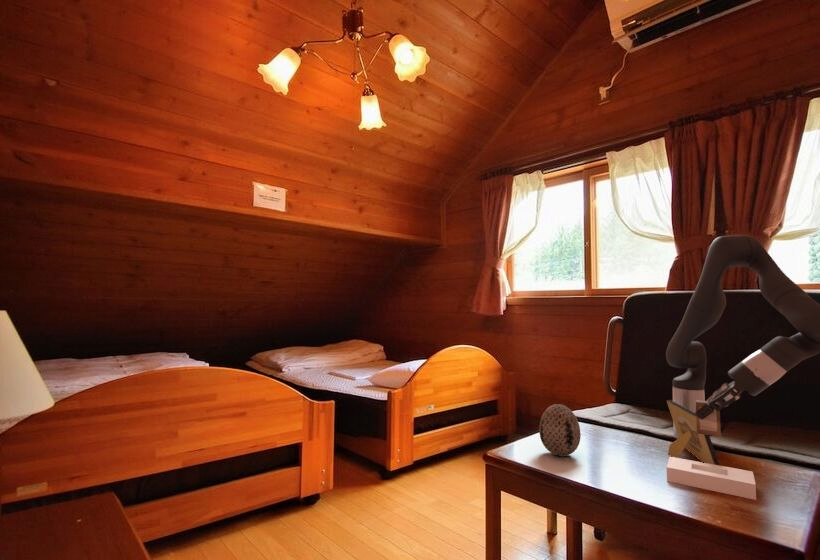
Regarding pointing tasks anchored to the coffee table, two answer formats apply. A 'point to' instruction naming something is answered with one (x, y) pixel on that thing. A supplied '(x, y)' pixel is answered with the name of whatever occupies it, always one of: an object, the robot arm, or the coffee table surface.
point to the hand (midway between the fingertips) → (698, 414)
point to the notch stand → (712, 477)
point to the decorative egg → (559, 430)
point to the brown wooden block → (708, 421)
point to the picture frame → (690, 435)
